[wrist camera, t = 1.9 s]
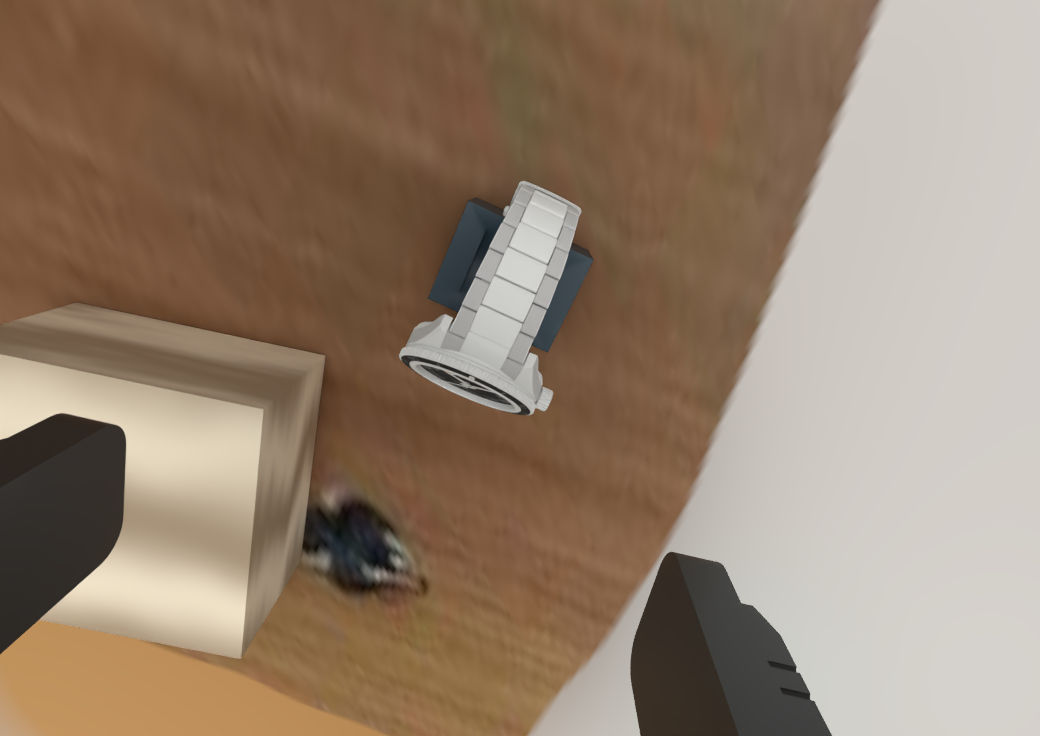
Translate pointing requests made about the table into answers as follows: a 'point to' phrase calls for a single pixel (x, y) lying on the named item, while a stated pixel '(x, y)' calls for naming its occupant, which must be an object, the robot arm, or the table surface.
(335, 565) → the table surface
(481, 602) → the table surface
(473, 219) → the watch
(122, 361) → the maple block
